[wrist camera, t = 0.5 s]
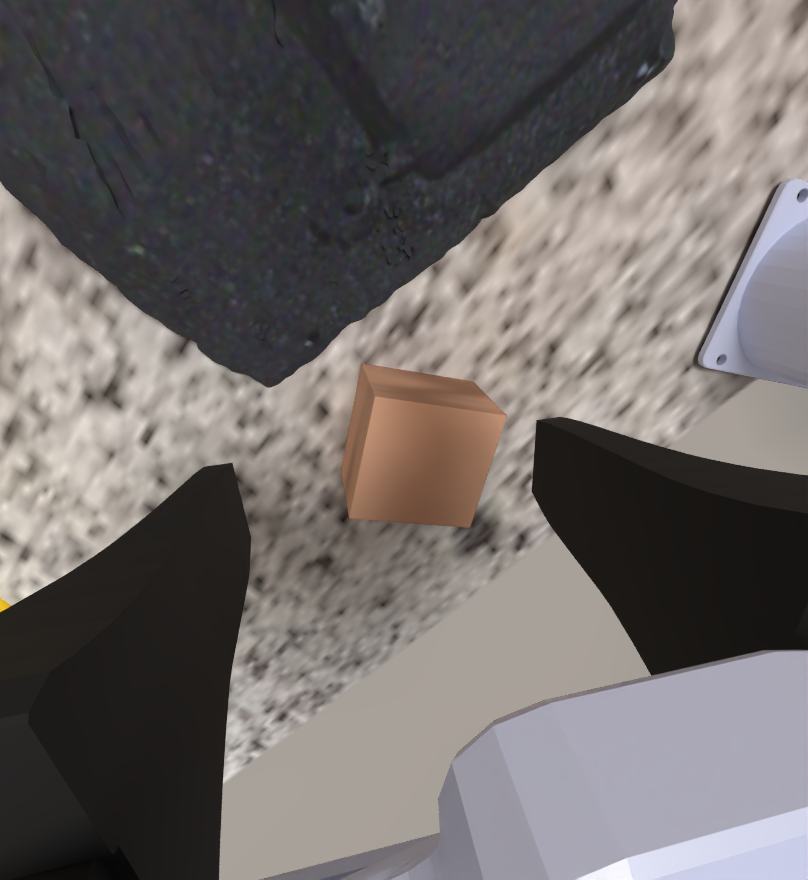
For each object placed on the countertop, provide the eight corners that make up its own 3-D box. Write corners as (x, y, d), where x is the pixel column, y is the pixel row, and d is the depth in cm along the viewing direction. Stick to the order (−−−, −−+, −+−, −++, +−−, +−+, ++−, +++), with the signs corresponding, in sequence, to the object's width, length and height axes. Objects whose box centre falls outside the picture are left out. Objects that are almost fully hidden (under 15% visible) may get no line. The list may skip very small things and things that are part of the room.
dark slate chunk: (-135, 37, 14) (-327, -37, 9) (491, -687, 11) (614, -1252, 7) (265, 411, 21) (256, 464, 16) (711, 31, 18) (840, -23, 13)
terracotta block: (472, 380, 21) (506, 415, 18) (443, 478, 23) (469, 527, 20) (361, 362, 20) (374, 396, 17) (340, 467, 22) (349, 518, 19)
